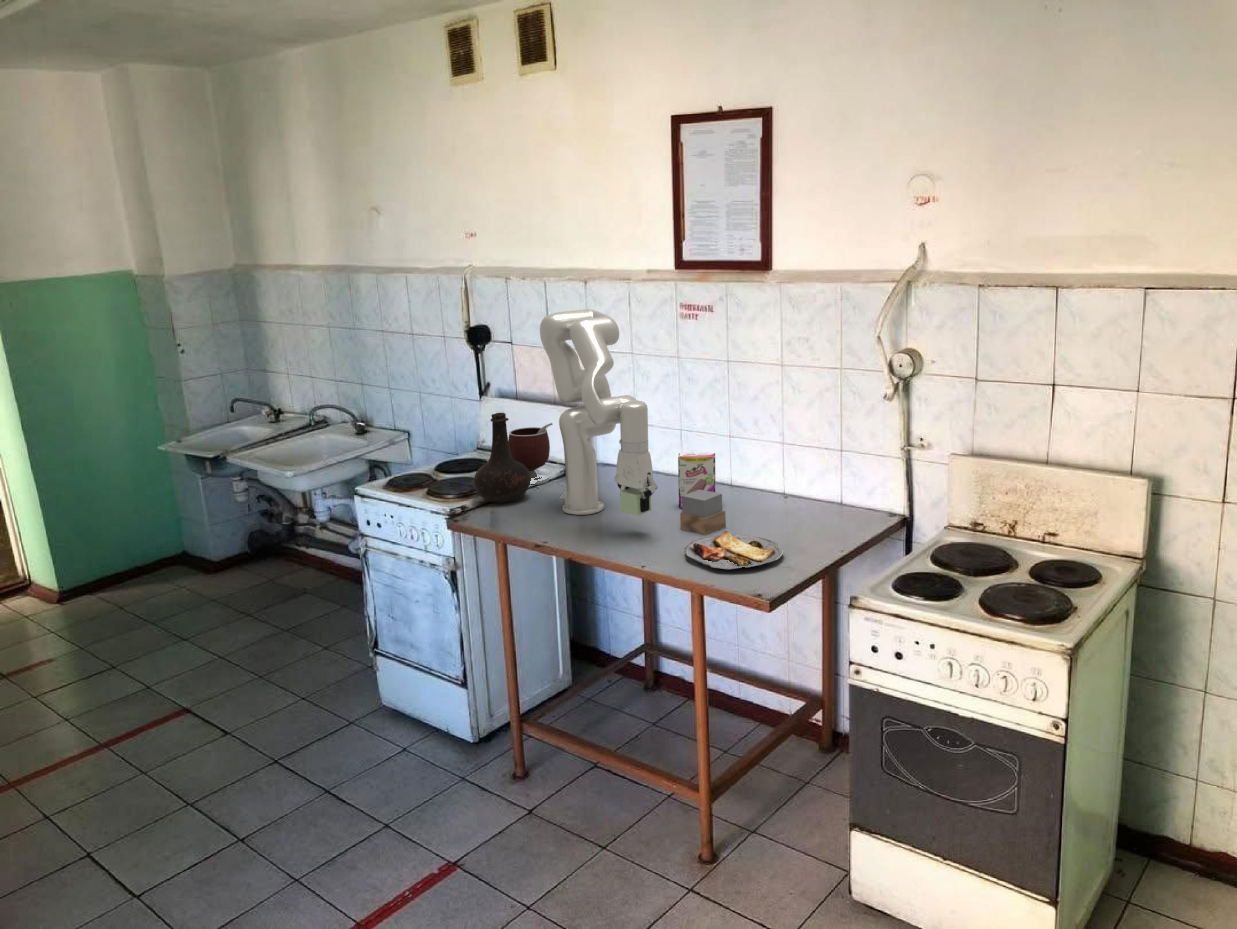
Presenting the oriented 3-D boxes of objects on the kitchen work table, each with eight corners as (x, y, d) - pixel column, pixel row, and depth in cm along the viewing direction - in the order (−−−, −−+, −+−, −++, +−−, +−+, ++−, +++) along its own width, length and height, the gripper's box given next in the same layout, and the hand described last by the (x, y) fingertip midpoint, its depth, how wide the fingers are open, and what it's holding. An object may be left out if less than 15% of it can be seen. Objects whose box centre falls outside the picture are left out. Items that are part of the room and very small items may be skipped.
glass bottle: (469, 507, 313) (461, 420, 306) (483, 491, 330) (476, 408, 323) (525, 507, 310) (519, 419, 303) (536, 491, 327) (531, 407, 320)
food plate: (667, 554, 263) (667, 541, 262) (734, 535, 275) (734, 523, 275) (731, 582, 243) (731, 569, 242) (799, 561, 256) (800, 548, 255)
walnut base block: (680, 529, 283) (680, 513, 282) (700, 521, 289) (700, 505, 288) (705, 536, 277) (705, 518, 275) (725, 527, 283) (725, 510, 282)
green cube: (620, 511, 279) (620, 491, 277) (635, 506, 283) (634, 486, 281) (636, 516, 275) (636, 495, 273) (651, 510, 279) (650, 490, 277)
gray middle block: (682, 512, 282) (681, 495, 280) (700, 506, 287) (699, 489, 286) (704, 517, 276) (704, 500, 275) (722, 510, 282) (721, 493, 281)
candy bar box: (678, 509, 301) (677, 456, 297) (679, 504, 306) (677, 452, 302) (716, 508, 300) (715, 455, 296) (716, 503, 305) (715, 451, 300)
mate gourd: (506, 485, 335) (501, 427, 330) (517, 474, 349) (512, 418, 344) (551, 486, 333) (547, 427, 328) (560, 474, 346) (556, 418, 341)
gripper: (602, 444, 277) (604, 505, 282) (649, 454, 265) (650, 518, 270) (620, 438, 282) (622, 499, 287) (667, 448, 271) (668, 511, 276)
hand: (636, 508), depth 279 cm, fingers closed on green cube, 6 cm apart
